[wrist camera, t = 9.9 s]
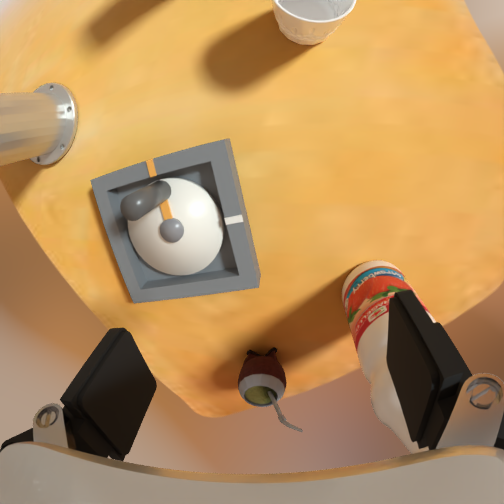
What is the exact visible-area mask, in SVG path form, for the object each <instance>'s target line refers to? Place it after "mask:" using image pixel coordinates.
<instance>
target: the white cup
mask: <svg viewBox="0 0 504 504" xmlns="http://www.w3.org/2000/svg"><path fill="white" fill-rule="evenodd" d="M271 1H272V6H273V10H274V14H275V18H276V20H277V23H278V26H279V29H280V31H281V32H282V33H283V34H284V35H285V36H286V37H287V38H288V39H289V40H291V41H294V42H296V43H298V44H303V45H315V44H317V43H320V42H323V41H325V40H326V39H327V38H328V37H329V36H330V35H331V34H332V33H333V32H334V31H335V30H336V29H337V28H338V27H339V25H340V24H341V23H342V22H343V21H344V19H345V18H346V17H347V15H348V14H349V13H350V12H351V10H352V9H353V7H354V5H355V3H356V0H271Z"/></svg>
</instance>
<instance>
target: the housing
mask: <svg viewBox="0 0 504 504" xmlns="http://www.w3.org/2000/svg"><path fill="white" fill-rule="evenodd" d="M169 177H179V178H184V179H188V180H191V181H194V182H195V183H197V184H199V185H201V186H202V187H203V188H205V189H206V190H207V191H208V192H209V193H210V194H211V195H212V196H213V197H214V199H215V200H216V202H217V203H218V205H219V207H220V209H221V212H222V215H223V219H224V229H225V230H224V238H223V242H222V245H221V248H220V250H219V252H218V253H217V255H216V257H215V258H214V260H213V261H212V262H211V263H210V264H209V265H208V266H207V267H205V268H204V269H202V270H200V271H199V272H196V273H193V274H189V275H171V274H167V273H163V272H161V271H159V270H157V269H155V268H153V267H152V266H150V265H149V264H148V263H147V262H145V261H144V260H143V259H142V258H141V256H140V255H139V254H138V252H137V251H136V250H135V248H134V246H133V244H132V241H131V239H130V235H129V231H128V220H127V219H126V218H125V217H124V216H123V215H122V213H121V210H120V204H121V201H122V199H123V198H124V197H125V196H127V195H129V194H131V193H133V192H135V191H137V190H139V189H141V188H143V187H145V186H147V185H149V184H151V183H153V182H155V181H157V180H160V179H163V178H169ZM90 181H91V184H92V188H93V191H94V195H95V198H96V201H97V205H98V208H99V211H100V214H101V217H102V220H103V223H104V226H105V229H106V232H107V235H108V238H109V241H110V244H111V247H112V249H113V252H114V255H115V258H116V260H117V263H118V266H119V268H120V271H121V273H122V276H123V278H124V281H125V283H126V286H127V288H128V291H129V293H130V296H131V298H132V300H133V303H142V302H151V301H160V300H168V299H177V298H185V297H193V296H201V295H208V294H216V293H223V292H231V291H238V290H245V289H252V288H259V283H260V276H261V274H260V269H259V265H258V261H257V256H256V252H255V247H254V243H253V239H252V234H251V230H250V225H249V221H248V217H247V212H246V208H245V204H244V199H243V195H242V190H241V186H240V182H239V177H238V173H237V169H236V164H235V160H234V156H233V151H232V147H231V143H230V139H224V140H220V141H216V142H212V143H208V144H204V145H200V146H196V147H192V148H189V149H185V150H181V151H178V152H174V153H171V154H167V155H164V156H161V157H157V158H154V159H151V160H147V161H144V162H141V163H138V164H135V165H132V166H129V167H126V168H123V169H120V170H117V171H114V172H112V173H109V174H106V175H103V176H101V177H98V178H95V179H92V180H90Z"/></svg>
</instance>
